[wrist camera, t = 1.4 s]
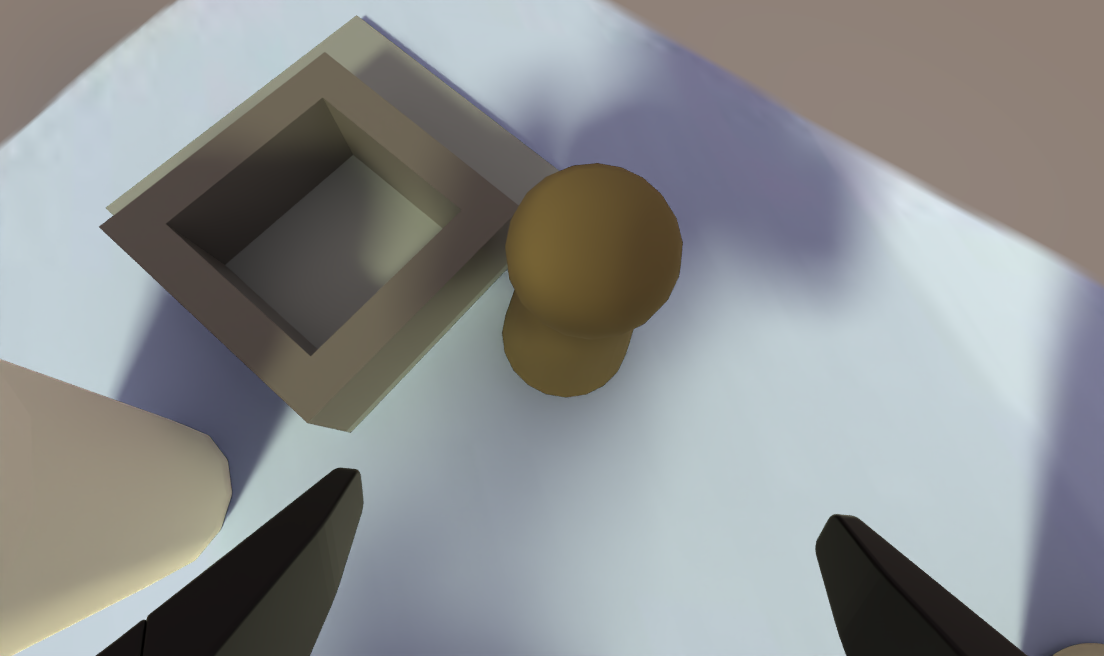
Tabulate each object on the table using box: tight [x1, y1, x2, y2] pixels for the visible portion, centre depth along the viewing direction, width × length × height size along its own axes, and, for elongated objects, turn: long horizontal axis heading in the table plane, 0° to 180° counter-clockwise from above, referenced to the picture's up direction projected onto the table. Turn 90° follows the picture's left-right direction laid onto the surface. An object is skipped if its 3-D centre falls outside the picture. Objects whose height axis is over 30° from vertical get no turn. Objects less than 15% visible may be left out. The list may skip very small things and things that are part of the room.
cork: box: [502, 163, 683, 397], centre depth 18 cm, size 6×6×11 cm
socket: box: [99, 15, 559, 433], centre depth 23 cm, size 16×16×5 cm
